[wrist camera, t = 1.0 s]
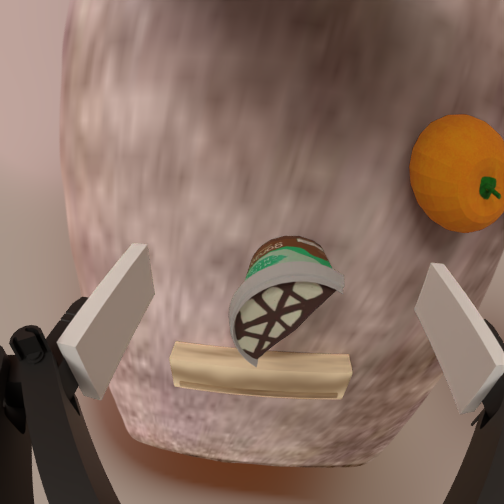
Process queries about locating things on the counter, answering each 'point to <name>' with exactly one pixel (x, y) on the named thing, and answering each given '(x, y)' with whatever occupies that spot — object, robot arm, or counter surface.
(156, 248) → the counter surface
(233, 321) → the food container
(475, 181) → the fruit
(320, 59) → the counter surface
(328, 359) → the board
